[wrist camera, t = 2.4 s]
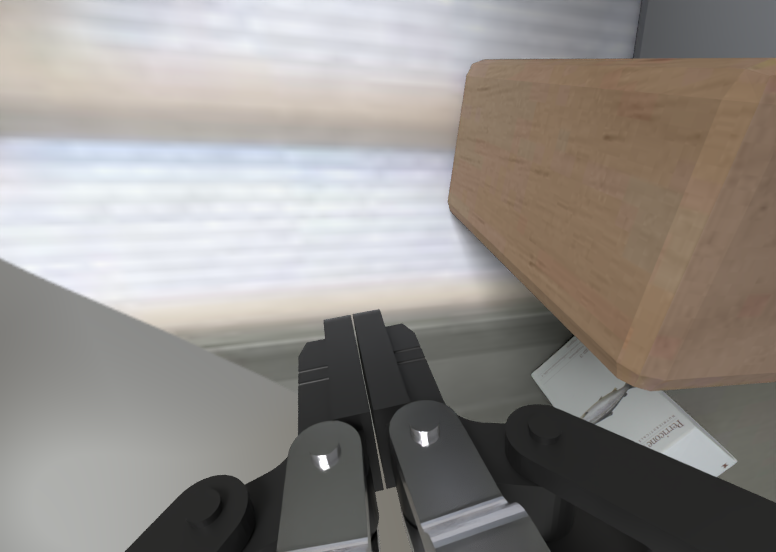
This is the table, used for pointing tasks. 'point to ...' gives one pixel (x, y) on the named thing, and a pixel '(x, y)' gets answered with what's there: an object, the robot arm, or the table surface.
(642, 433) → the supplement box
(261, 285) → the table surface
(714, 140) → the block
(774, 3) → the mat
